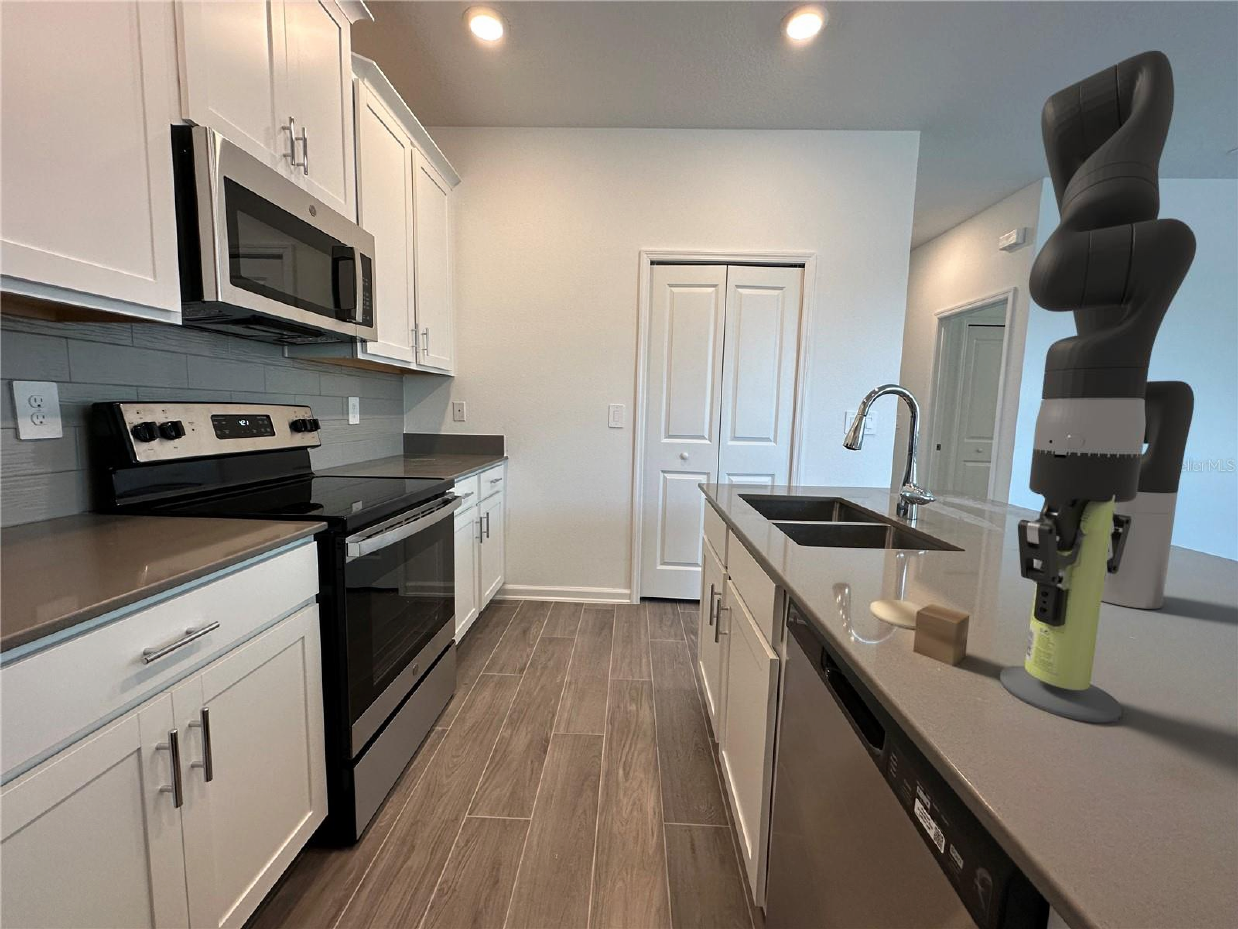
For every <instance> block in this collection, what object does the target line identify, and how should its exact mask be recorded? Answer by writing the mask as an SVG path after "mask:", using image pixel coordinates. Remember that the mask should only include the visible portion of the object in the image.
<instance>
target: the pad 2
mask: <svg viewBox="0 0 1238 929" xmlns="http://www.w3.org/2000/svg"><path fill="white" fill-rule="evenodd" d="M999 674H1000V675H999V682H1000V683H1001V685H1002V686H1003V688H1004V689H1005V690H1006V691H1007V692H1009V693H1010V694H1011V695H1013V696H1014V697H1015V698H1017V699H1019V700H1020V701H1023V702H1024V703H1027V704H1028V705H1031V706H1033V707H1035V708H1037V709H1040V710H1042V711H1045V712H1047V713H1050V714H1053V715H1056V716H1059V717H1063V718H1066V719H1069V720H1070V719H1071V720H1073V721H1081V722H1085V723H1093V724H1095V723H1096V724H1108V722H1110V723H1114V722H1116V721H1115V720H1117V719H1118V720H1120V718H1121V716H1120V715H1122V706H1121V704H1120V703H1119V700H1117V699H1116V698H1115V697H1113V695H1111V694H1110V693H1108V692H1107V691H1105V690H1103V689H1102V688H1100V687H1098V686H1096V685H1094V684H1092V683H1090V686H1089V688H1087V689H1085V690H1069V689H1064V688H1060V687H1057V686H1053V685H1051V684H1048V683H1045V682H1043V681H1041V680H1039V679H1037V678H1035V677H1034V676H1032V675H1031V674H1030V673H1028V672H1027V670H1026V669H1025V665H1011V666H1007V667H1004V668H1003V669H1002V670H1001V671H1000V673H999ZM1119 717H1120V718H1119ZM1118 720H1117V721H1118ZM1113 721H1114V722H1113Z"/></svg>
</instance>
